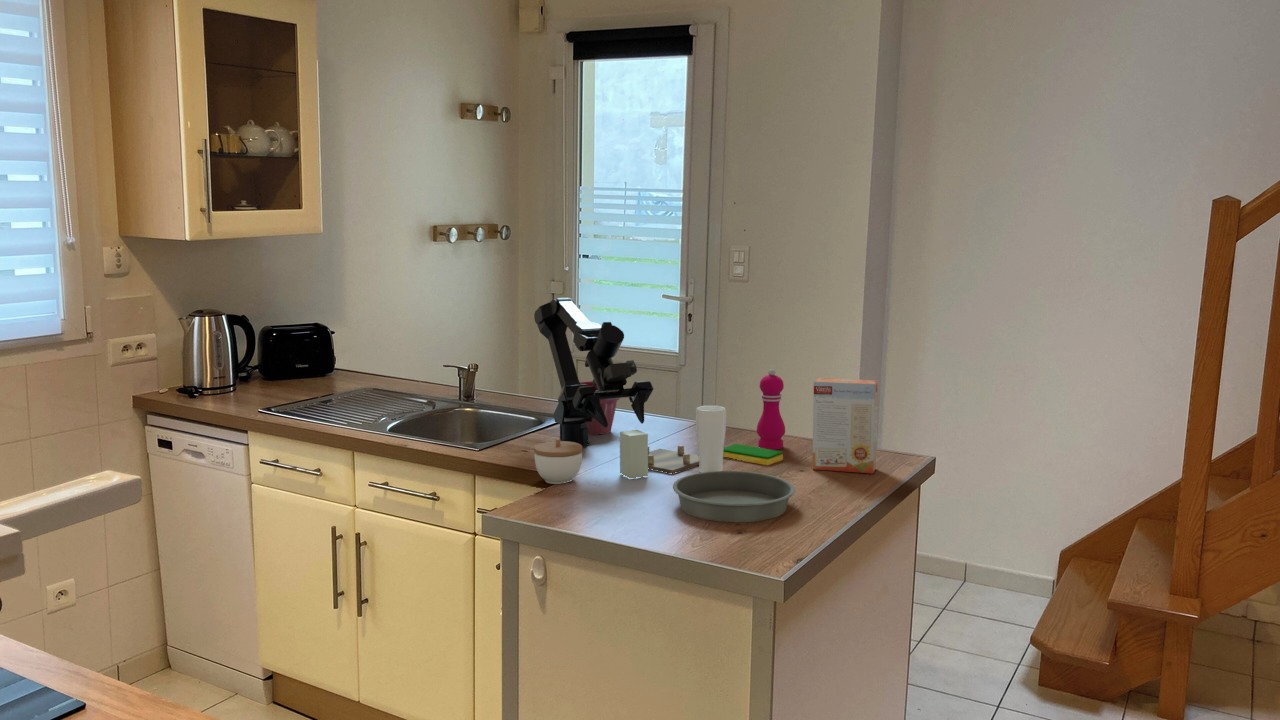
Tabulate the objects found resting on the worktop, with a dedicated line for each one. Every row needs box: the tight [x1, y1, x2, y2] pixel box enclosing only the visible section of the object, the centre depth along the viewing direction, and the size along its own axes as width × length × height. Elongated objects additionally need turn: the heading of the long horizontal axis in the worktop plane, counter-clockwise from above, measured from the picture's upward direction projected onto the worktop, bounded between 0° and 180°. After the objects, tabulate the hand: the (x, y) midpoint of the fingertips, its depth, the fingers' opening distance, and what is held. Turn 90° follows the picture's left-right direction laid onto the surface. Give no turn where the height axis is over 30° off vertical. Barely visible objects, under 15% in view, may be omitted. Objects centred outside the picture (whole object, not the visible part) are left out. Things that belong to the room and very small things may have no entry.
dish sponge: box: [723, 443, 784, 466], centre depth 242 cm, size 7×14×2 cm, turn 51°
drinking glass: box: [695, 404, 727, 473], centre depth 227 cm, size 7×7×15 cm
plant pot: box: [579, 380, 621, 436], centre depth 271 cm, size 14×14×13 cm
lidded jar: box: [533, 438, 584, 485], centre depth 221 cm, size 11×11×9 cm
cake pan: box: [672, 470, 796, 523], centre depth 202 cm, size 25×25×4 cm
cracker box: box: [811, 377, 879, 475], centre depth 229 cm, size 14×6×21 cm, turn 71°
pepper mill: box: [755, 368, 786, 451], centre depth 252 cm, size 7×7×20 cm
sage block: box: [619, 429, 649, 478], centre depth 225 cm, size 5×4×10 cm
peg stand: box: [648, 444, 699, 475], centre depth 237 cm, size 15×15×3 cm
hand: (625, 424), depth 227 cm, fingers open, 9 cm apart
